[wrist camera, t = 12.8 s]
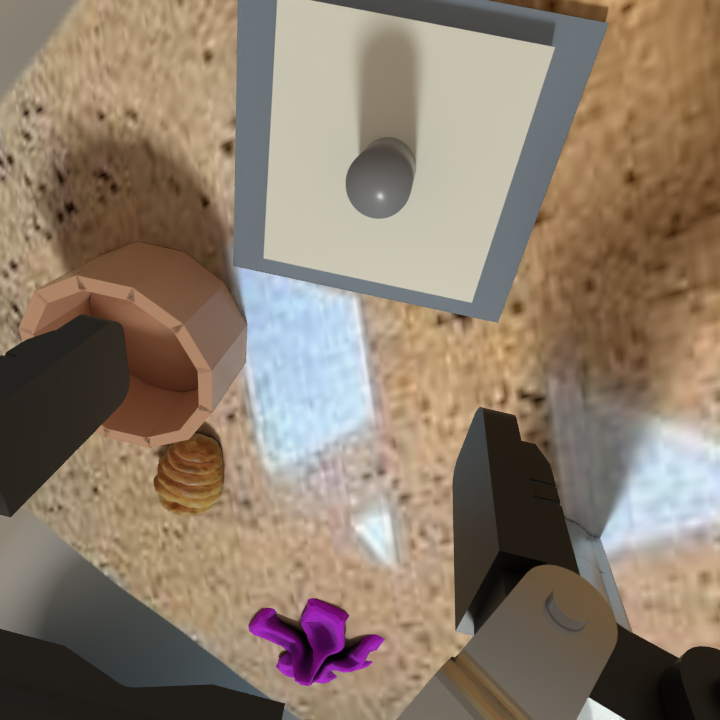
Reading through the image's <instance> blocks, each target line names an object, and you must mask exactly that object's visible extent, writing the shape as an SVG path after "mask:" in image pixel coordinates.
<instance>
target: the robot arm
mask: <svg viewBox="0 0 720 720" xmlns="http://www.w3.org/2000/svg"><path fill="white" fill-rule="evenodd" d="M129 384H130V376H129V368H128V359H127V351H126V342H125V334H124V329H123V327H122V325H121V324H120V323H119V322H116V321H112V320H108V319H103V318H99V317H95V316H90V315H86V314H82V315H79V316H77V317H75V318H74V319H72V320H71V321H69V322H68V323H66V324H65V325H63V326H62V327H60V328H58V329H57V330H53V331H50V332H47V333H44V334H41V335H38V336H35V337H32V338H29V339H27V340H25V341H23V342H22V343H20V344H19V345H17V346H15V347H14V348H12V349H11V350H9V351H8V352H6V355H5V356H2V355H1V356H0V515H4V516H8V517H11V516H12V515H13V514H14V513H15V512H16V511H17V510H18V509H19V508H20V507H21V506H22V505H23V504H24V503H25V502H26V501H27V500H28V499H29V498H30V497H31V496H32V495H33V494H34V493H35V492H36V491H37V490H38V489H39V488H40V487H41V486H42V485H43V484H44V483H45V482H46V481H47V480H48V479H49V478H50V477H51V476H52V475H53V474H54V473H55V472H56V471H57V470H58V469H59V468H60V467H61V466H62V465H63V463H64V462H65V461H66V460H67V459H68V458H69V457H70V456H71V455H72V454H73V453H74V452H75V451H76V450H77V449H78V448H79V447H80V446H81V445H82V444H83V443H84V442H85V441H86V440H87V439H88V438H89V437H90V436H91V435H92V434H93V433H94V432H95V431H96V430H97V429H98V428H99V427H100V426H101V425H102V424H103V423H104V422H105V421H106V420H107V419H108V418H109V417H110V416H111V415H112V414H113V413H114V412H115V411H116V410H117V409H118V407H119V406H120V405H121V404H122V403H123V401H124V399H125V398H126V395H127V393H128V389H129ZM559 504H560V499H559V496H558V492H557V489H556V488H555V481H554V477H553V474H552V470H551V466H550V463H549V462H548V461H547V459H546V458H545V457H544V455H543V454H542V453H541V451H540V450H539V449H538V447H537V446H536V444H533V443H528V442H524V441H521V437H520V432H519V428H518V423H517V419H516V416H515V415H512V414H508V413H503V412H499V411H495V410H491V409H486V408H482V407H480V408H478V410H477V411H476V413H475V415H474V418H473V420H472V423H471V425H470V428H469V431H468V433H467V436H466V438H465V441H464V443H463V446H462V448H461V451H460V453H459V456H458V459H457V462H456V466H455V470H454V476H453V530H454V578H455V626H456V632H460V633H464V634H468V635H472V636H473V638H472V639H471V640H470V641H469V642H468V644H467V645H466V646H465V647H464V648H463V650H462V651H461V652H460V653H459V654H458V655H457V656H456V657H455V658H454V657H451V658H450V659H449V660H448V661H447V662H446V663H445V664H444V665H443V666H442V667H441V668H440V669H439V670H438V672H437V673H436V674H435V675H434V676H433V677H432V678H431V680H430V681H429V682H428V683H427V684H426V686H425V687H424V688H423V689H422V690H421V691H420V693H419V694H418V695H417V696H416V697H415V698H414V700H413V701H412V702H411V703H410V704H409V705H408V707H407V708H406V709H405V710H404V711H403V712H402V714H401V715H400V716H399V717H398V718H397V720H720V650H718V649H715V648H711V647H703V646H699V647H693V648H691V649H689V650H688V651H686V652H685V653H684V654H683V655H682V656H681V657H680V658H678V657H676V656H674V655H672V654H670V653H668V652H667V651H665V650H663V649H661V648H659V647H657V646H656V645H654V644H652V643H650V642H648V641H646V640H645V639H643V638H641V637H639V636H637V635H636V634H634V633H633V632H632V629H631V626H630V623H629V621H628V618H627V615H626V612H625V609H624V606H623V603H622V600H621V597H620V594H619V591H618V588H617V585H616V583H615V580H614V577H613V574H612V571H611V568H610V565H609V562H608V559H607V556H606V553H605V550H604V547H603V545H602V542H601V539H600V538H596V537H593V536H590V535H589V534H588V533H587V532H586V531H585V530H584V529H583V528H582V527H580V526H579V525H577V524H576V523H574V522H571V521H569V520H566V519H565V518H564V514H563V510H562V507H561V506H560V505H559ZM284 706H285V703H281V702H277V701H273V700H269V699H266V698H262V697H257V696H254V695H250V694H247V693H242V692H239V691H235V690H231V689H227V688H223V687H220V686H216V685H188V686H164V687H141V688H140V687H139V688H132V687H126V686H123V685H121V684H119V683H118V682H116V681H115V680H113V679H112V678H111V677H109V676H108V675H106V674H105V673H103V672H102V671H100V670H99V669H97V668H96V667H95V666H93V665H92V664H90V663H88V662H87V661H86V660H84V659H83V658H81V657H80V656H78V655H77V654H76V653H74V652H73V651H71V650H70V649H68V648H67V647H65V646H63V645H59V644H55V643H51V642H48V641H44V640H40V639H36V638H33V637H29V636H24V635H21V634H17V633H13V632H10V631H6V630H2V629H0V720H282V716H283V711H284Z"/></svg>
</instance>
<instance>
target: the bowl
mask: <svg viewBox="0 0 720 720" xmlns="http://www.w3.org/2000/svg"><path fill="white" fill-rule="evenodd" d="M82 314H86V315H90V316H95V317H99V318H103V319H108V320H112V321H116V322H119V323H120V324H121V325H122V327H123V329H124V334H125V342H126V351H127V359H128V368H129V376H130V384H129V389H128V393H127V395H126V398H125V399H124V401H123V403H122V404H121V405H120V406H119V407H118V409H117V410H116V411H115V412H114V413H113V414H112V415H111V416H110V417H109V418H108V419H107V420H106V421H105V422H104V423H103V424H102V425H101V426H100V427H99V428H98V429H97V430H96V432H98V433H99V434H101V435H103V436H104V437H106V438H111V439H115V440H119V441H124V442H128V443H132V444H136V445H141V446H145V447H149V448H152V447H156V446H161V445H166V444H170V443H175V442H180V441H184V440H189V439H190V438H191V437H192V435H193V434H194V433H195V432H196V431H197V430H198V428H199V427H200V426H201V425H202V424H203V423H204V421H205V420H206V419H207V418H208V417H209V416H210V414H211V413H212V412H213V411H214V409H215V408H216V406H217V405H218V403H219V402H220V400H221V399H222V397H223V396H224V394H225V393H226V391H227V390H228V388H229V387H230V385H231V384H232V382H233V381H234V379H235V378H236V376H237V375H238V373H239V372H240V370H241V369H242V367H243V366H244V364H245V363H246V341H247V323H246V322H245V320H244V318H243V316H242V314H241V312H240V310H239V308H238V306H237V305H236V303H235V301H234V299H233V297H232V295H231V293H230V291H229V290H228V288H227V286H226V284H225V283H224V282H223V281H222V280H220V279H219V278H218V277H216V276H215V275H214V274H212V273H211V272H210V271H208V270H207V269H206V268H205V267H203V266H202V265H201V264H199V263H198V262H197V261H195V260H194V259H193V258H192V257H190V256H189V255H188V254H186V253H185V252H183V251H178V250H173V249H169V248H164V247H159V246H155V245H150V244H145V243H141V242H135V243H132V244H129V245H127V246H124V247H122V248H119V249H117V250H114V251H111V252H109V253H106V254H104V255H101V256H98V257H97V258H95V259H93V260H91V261H89V262H87V263H85V264H84V265H82V266H80V267H78V268H76V269H74V270H73V271H71V272H69V273H67V274H65V275H63V276H61V277H60V278H58V279H56V280H54V281H52V282H50V283H48V284H47V285H45V286H43V287H41V288H39V289H37V290H35V291H34V293H33V296H32V298H31V300H30V303H29V305H28V307H27V310H26V312H25V314H24V317H23V319H22V321H21V324H20V326H19V330H20V334H21V338H22V342H23V341H25V340H27V339H29V338H32V337H35V336H38V335H41V334H44V333H47V332H50V331H53V330H57V329H58V328H60V327H62V326H63V325H65V324H66V323H68V322H69V321H71V320H72V319H74V318H75V317H77V316H79V315H82Z"/></svg>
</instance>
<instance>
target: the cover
mask: <svg viewBox="0 0 720 720" xmlns="http://www.w3.org/2000/svg"><path fill="white" fill-rule="evenodd" d="M554 49H555V47H552V46H547V45H541V44H536V43H531V42H526V41H520V40H515V39H510V38H505V37H500V36H494V35H489V34H484V33H479V32H474V31H468V30H463V29H458V28H453V27H448V26H442V25H437V24H432V23H427V22H422V21H416V20H411V19H406V18H401V17H396V16H390V15H385V14H380V13H375V12H370V11H364V10H359V9H354V8H349V7H343V6H338V5H333V4H328V3H323V2H317V1H312V0H277V13H276V32H275V51H274V70H273V88H272V107H271V126H270V145H269V163H268V182H267V201H266V220H265V239H264V257H263V258H264V259H269V260H274V261H278V262H283V263H288V264H292V265H297V266H302V267H306V268H311V269H316V270H320V271H325V272H330V273H335V274H339V275H344V276H349V277H353V278H358V279H363V280H367V281H372V282H377V283H381V284H386V285H391V286H395V287H400V288H405V289H409V290H414V291H419V292H423V293H428V294H433V295H437V296H442V297H447V298H452V299H456V300H461V301H466V302H470V303H472V301H473V298H474V295H475V292H476V288H477V285H478V282H479V279H480V276H481V273H482V270H483V267H484V264H485V261H486V258H487V255H488V252H489V249H490V246H491V242H492V239H493V236H494V233H495V230H496V227H497V224H498V221H499V218H500V215H501V212H502V209H503V206H504V203H505V200H506V196H507V193H508V190H509V187H510V184H511V181H512V178H513V175H514V172H515V169H516V166H517V163H518V160H519V157H520V154H521V150H522V147H523V144H524V141H525V138H526V135H527V132H528V129H529V126H530V123H531V120H532V117H533V114H534V111H535V108H536V104H537V101H538V98H539V95H540V92H541V89H542V86H543V83H544V80H545V77H546V74H547V71H548V68H549V65H550V62H551V58H552V55H553V52H554Z"/></svg>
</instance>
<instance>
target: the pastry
mask: <svg viewBox="0 0 720 720" xmlns="http://www.w3.org/2000/svg"><path fill="white" fill-rule="evenodd" d="M223 484H224V466H223V456H222V450H221V449H220V447H219V445H218V443H217V441H216V440H214V439H213V438H210V437H207V436H205V435H202V434H198V433H194V434H193V435H192V437H191V438H190V439H189V440H184V441H180V442H175V443H174V444H173V445H171V446H169V448H168V449H167V451H166V454H165V455H164V456H163V457H162V458H161V459H160V460H159V464H158V474H157V476H156V477H155V478H154V487H155V491H156V492H157V493H158V495H159V499H160V504H161V505H162V506H163V507H164V508H165V509H167V510H168V511H170V512H172V513H174V514H177V515H192V516H194V515H197V514H201V513H203V512H205V511H207V510H208V509H210V508H211V507H212V506H213V505H214V503H215V501H217V500H218V499H219V497H220V496H221V495H222V490H223Z"/></svg>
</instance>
